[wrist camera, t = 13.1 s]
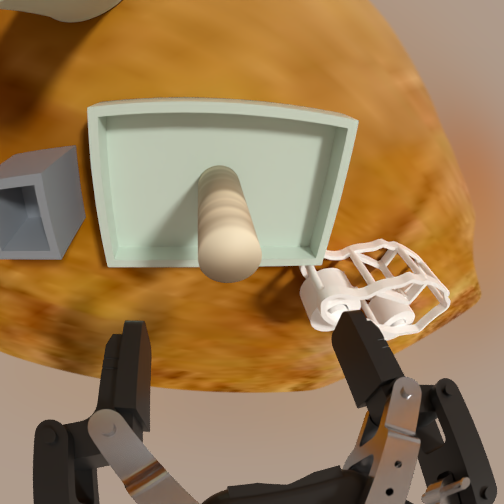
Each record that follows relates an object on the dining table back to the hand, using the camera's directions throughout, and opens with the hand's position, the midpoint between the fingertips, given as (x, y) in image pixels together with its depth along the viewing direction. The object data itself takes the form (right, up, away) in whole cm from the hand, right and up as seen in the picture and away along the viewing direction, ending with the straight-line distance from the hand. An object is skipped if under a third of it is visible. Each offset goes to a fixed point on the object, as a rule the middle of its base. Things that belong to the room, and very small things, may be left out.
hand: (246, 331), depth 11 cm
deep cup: (-18, +9, +10) cm, 23 cm away
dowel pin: (-2, +9, +12) cm, 15 cm away
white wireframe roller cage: (+14, +1, +23) cm, 27 cm away
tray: (-3, +9, +13) cm, 16 cm away
